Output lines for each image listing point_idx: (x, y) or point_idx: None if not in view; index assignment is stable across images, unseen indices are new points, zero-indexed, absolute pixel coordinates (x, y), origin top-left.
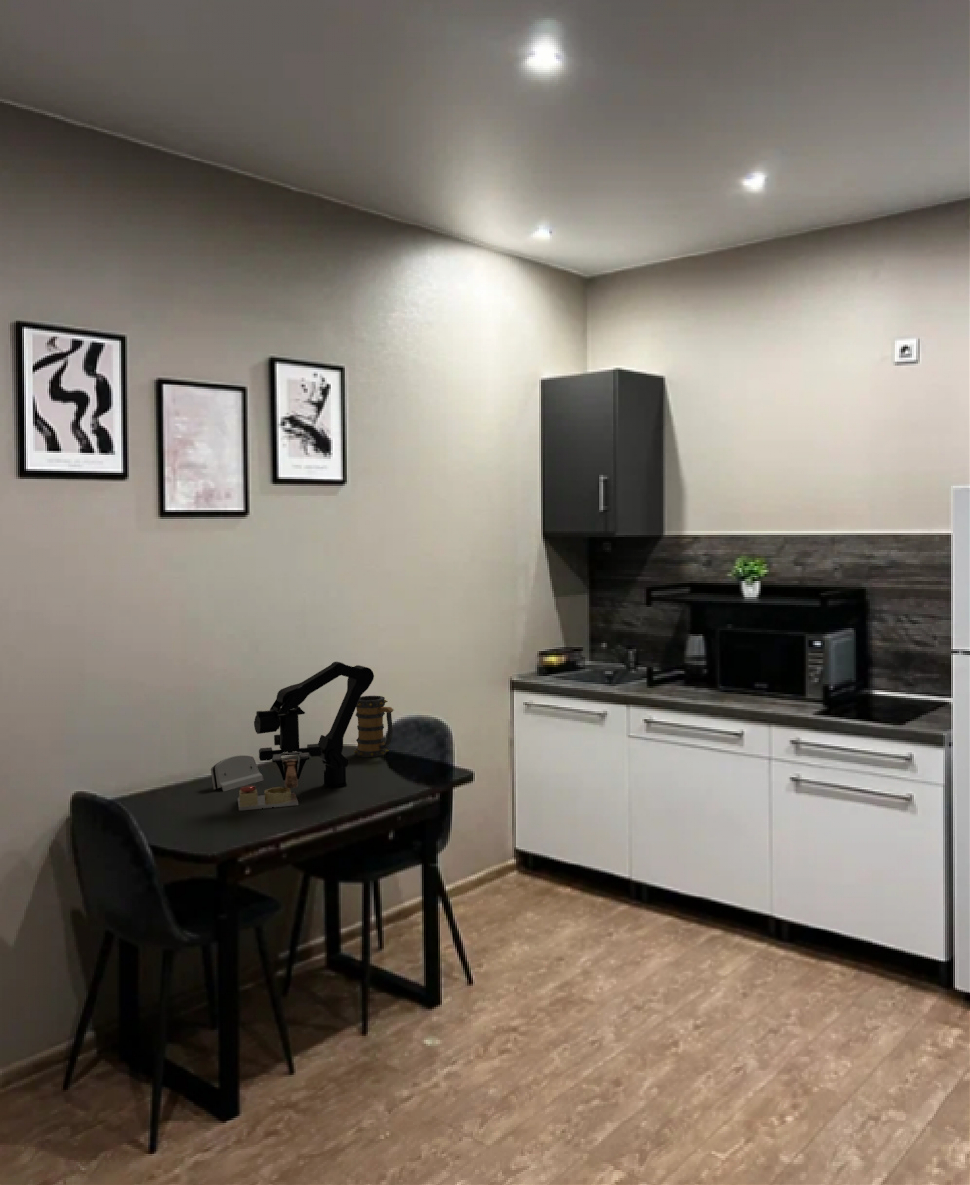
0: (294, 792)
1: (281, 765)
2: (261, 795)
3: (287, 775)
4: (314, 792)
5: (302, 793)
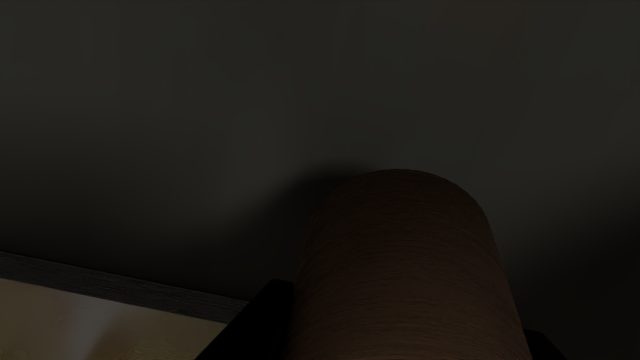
0: None
1: None
2: (35, 286)
3: None
4: (607, 330)
5: None
